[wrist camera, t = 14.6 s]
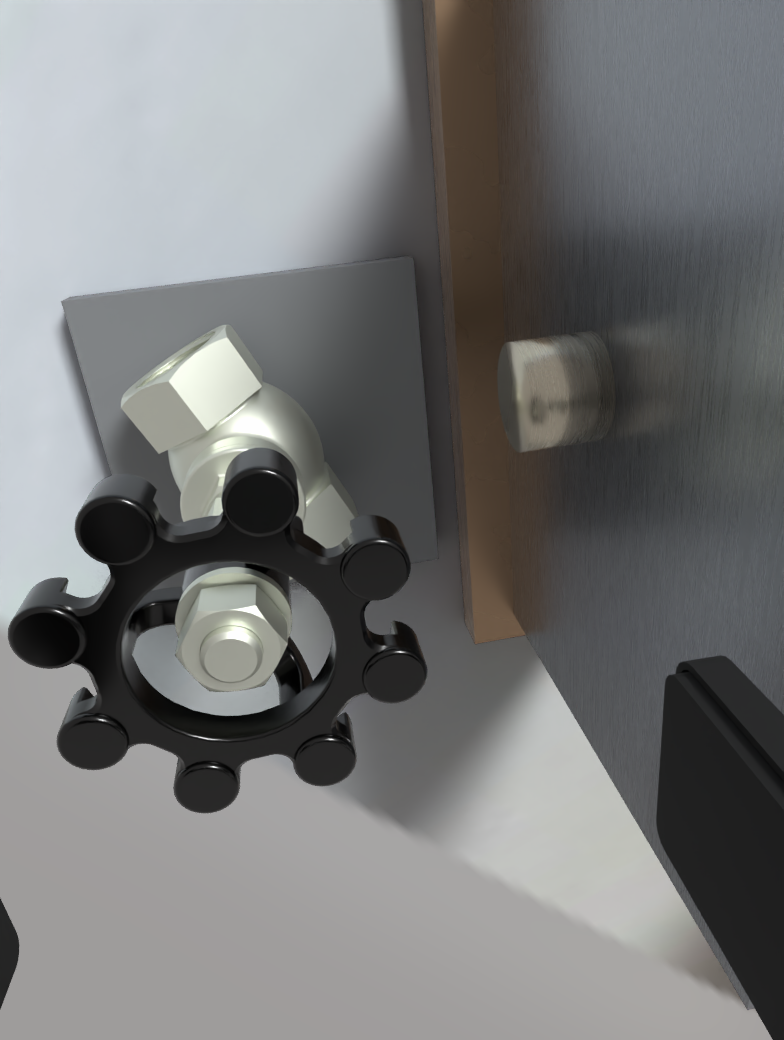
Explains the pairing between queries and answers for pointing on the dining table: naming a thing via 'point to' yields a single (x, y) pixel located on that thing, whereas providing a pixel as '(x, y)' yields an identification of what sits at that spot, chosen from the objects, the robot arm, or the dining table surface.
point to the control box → (616, 347)
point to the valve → (224, 586)
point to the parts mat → (283, 375)
